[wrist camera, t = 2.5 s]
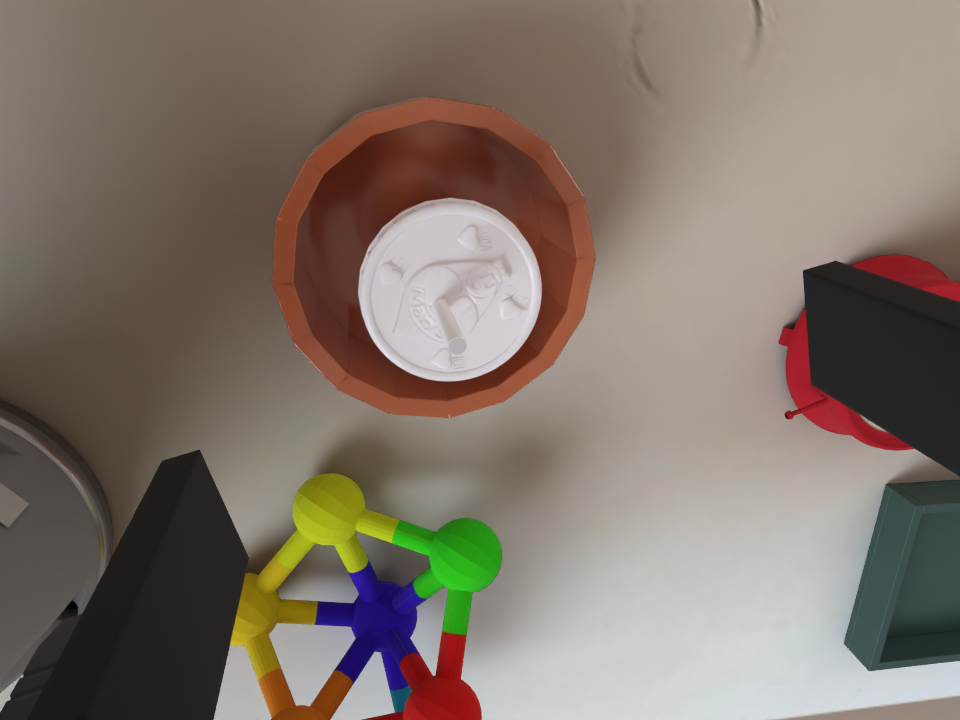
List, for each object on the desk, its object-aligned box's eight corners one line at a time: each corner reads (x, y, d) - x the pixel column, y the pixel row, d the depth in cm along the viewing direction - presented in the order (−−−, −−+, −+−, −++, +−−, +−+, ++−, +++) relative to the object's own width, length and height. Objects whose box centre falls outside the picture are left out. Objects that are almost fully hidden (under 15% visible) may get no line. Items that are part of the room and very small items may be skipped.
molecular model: (233, 617, 42) (447, 760, 40) (119, 715, 33) (388, 907, 31) (338, 404, 39) (576, 549, 37) (243, 448, 30) (554, 644, 28)
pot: (336, 397, 35) (333, 453, 30) (244, 141, 30) (222, 150, 25) (575, 327, 36) (616, 368, 31) (522, 68, 31) (560, 61, 26)
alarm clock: (843, 252, 33) (1155, 307, 33) (793, 233, 39) (1058, 280, 39) (777, 450, 36) (1061, 500, 37) (740, 405, 42) (985, 448, 42)
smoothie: (327, 219, 32) (314, 301, 19) (449, 145, 32) (520, 177, 19) (401, 333, 34) (434, 475, 21) (515, 265, 34) (618, 367, 21)
